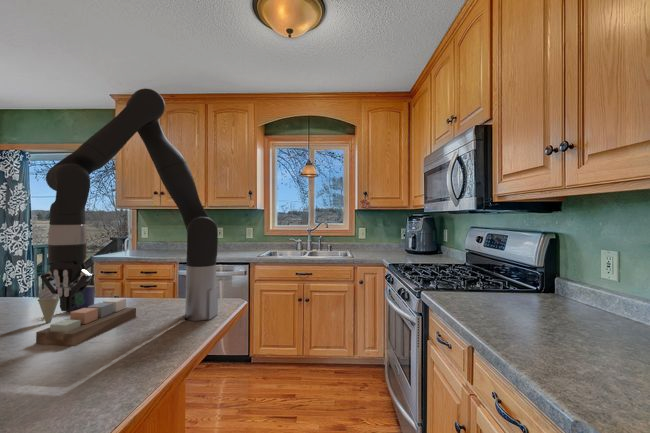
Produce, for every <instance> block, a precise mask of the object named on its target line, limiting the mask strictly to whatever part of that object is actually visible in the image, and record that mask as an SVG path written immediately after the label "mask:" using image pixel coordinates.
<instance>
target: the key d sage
mask: <svg viewBox="0 0 650 433" xmlns="http://www.w3.org/2000/svg"><path fill="white" fill-rule="evenodd" d="M80 326H81V320H71V319H70V318H68V319H63V320H60V321H57V322H54V323H50V326H49V327H50V332H64V333H66V332H68V331H71V330H73V329H76V328H78V327H80Z"/></svg>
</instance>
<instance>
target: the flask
mask: <svg viewBox="0 0 650 433" xmlns="http://www.w3.org/2000/svg"><path fill="white" fill-rule="evenodd" d="M95 290H96V287H95V285H87V287H86V288H85V289H84V291H83V292H80V293H77V294H76V295H75V307H74V309H73V310H70V311H65V313H68V312H69V313H70V312H73V311H76V310H79V309H82V308H88V306H91V305H94V304H95Z"/></svg>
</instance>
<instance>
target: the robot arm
mask: <svg viewBox="0 0 650 433" xmlns="http://www.w3.org/2000/svg"><path fill="white" fill-rule="evenodd" d="M165 102H166V101H165V100H164V98H163V96H162V95H161V94H160V93H159V92H157V91H155V90H154V89H151V88H141V89H137V90H136V91H135V92H134V93H133V94H132V95H131V96H130V98H129V99H128V101H127V102H126V104H125V106H124V108H123V109H122V110H121V111H120V112H119V113H118V114H117V115H116V116H115V117H114V118H113V119H111V120H110V121H109V122H108V123H106V124H105V125H104V126H102V128H100V129H98V131H96V132H95V133H94V134H93V135H91V136H90V137H89V138H88V139H86V140H85V141H84V142H83V143H82V144H81V145H80V146H79V147H77V149H76V150H74V151H73V152H72V153H70V154H68V155H67V156H65V157H64V158H63V159H61V160H60V161H58V162H57V163H56V164H54V165H53V166H52V167H51V168H50V169H48V171H47V173H46V174H45V181H46V185H47V186H48V187H49V188H50V189H51V190H53V191H55V200H54V202H52V203H51V205H50V207H49V227H48V233H47V261H48V262H49V263H50V266H49V270H48V271H47V272H46V273H42V274H41V275H40V279H41V280H42V282H43V283H44V285H46V286H47V287H48V289H49V290H50V291H51V293H52V294H58V296H59V297H60V298H59V308H60V311H61V312H66V311H70V310H73V309H74V307H75V295H76V294H77V293H80V292H83V291H84V289H85V288H86V287H87V286H89V284H90V283H91V282H92V280H93V279H94V277H95V274H94V273H93V272H91V273H89V271H87V270H86V265H85V260H86V259H87V229H86V206H87V202H88V199H89V195H90V194H89V193H90V190H91V176H90V175H91V174H92V173H93V172H95V171H97V170H100V169H102V168H103V167H104V166H106V165H107V164H108V163H109V162H110V161H111V160H112V159H113V158H114V157H115V156H116V155H117V154H119V152H120V151H121V150H122V149H123V147H124V146H126V144H127V143H128V142H129V141H130V139H131V138H132V137H133V136H134V135H136V133H138V136H139V137H140V138H141V140H142V141H143V144H144V146H145V148H146V150H147V152H148V154H149V156H150V158H151V161H152V163H153V165H154V167H155V169H156V172H157V174H158V176H159V178H160V180H161V182H162V184H163V185H164V188H165V189H166V191H167V193H168V194H169V196H170V198H171V199H172V200H173V202H174V204H175V205H176V207H177V208H178V211H179V213H180V216H181V217H182V220H183V223H184V226H185V230H186V233H187V234H186V235H187V237H186V266H185V268H186V270H185V272H186V273H185V311H184V312H185V319H186V320H188V321H191V322H193V321H194V322H195V321H196V322H197V321H205V320H211V319H213V318H214V317H216V316H217V315H218V309H219V308H218V304H219V286H218V285H217V283H216V282H217V259H218V258H217V257H218V243H219V242H218V241H219V240H218V239H219V231H218V226H217V223H216V222H215V221H214V220H213V219H211V218H210V217H209V215H208V213H207V210H205V208H204V206H203V204H202V202H201V200H200V195H199V193H198V188H197V186H196V182H195V178H194V177H193V173H192V171H191V169H190V167H189V164H188V163H187V161H186V159H185V158H184V156H183V155H182V153H181V152H180V151H179V150H178V149H177V148H176V147H175V146H174V145H173V144H172V143H171V141H169V140H168V138H167V137H166V135H165V133H164V131H163V129H162V126H161V124H160V121H159V120H160V118H161V117H162V116H163V115H164V113H165V111H166V110H165V109H166V103H165ZM55 287H56V288H55Z"/></svg>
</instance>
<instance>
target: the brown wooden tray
mask: <svg viewBox="0 0 650 433" xmlns="http://www.w3.org/2000/svg"><path fill="white" fill-rule="evenodd" d="M138 318H139V316H138V317H137V307H127V306H126V308H125V309H122V310H120V311H117V312H113V313H112V314H109V315H107V316H104V317H102V318H98V319H97V320H94V321H92V322H89V323H87V324H81V326H80V327H78V328H76V329H73V330H71V331H68V332H66V333H64V332H50V326H49V327H47V328H44V329H42V330H39V331H36V332H35V334H36V335H35V343H34V346H35V345H37V346H41V345H42V346H59V347H74V348H75V347H77V346H80V345H81V344H84V343H86V342H88V341H90V340H92V339H94V338H96V337H99V336H101V335H103V334H106V333H107V332H110V331H112V330H114V329H117V328H119V327H121V326H123V325H124V324H127V323H129V322H132V321H134V320H136V319H138Z"/></svg>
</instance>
